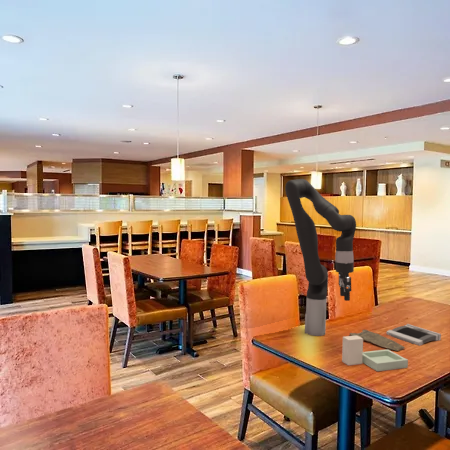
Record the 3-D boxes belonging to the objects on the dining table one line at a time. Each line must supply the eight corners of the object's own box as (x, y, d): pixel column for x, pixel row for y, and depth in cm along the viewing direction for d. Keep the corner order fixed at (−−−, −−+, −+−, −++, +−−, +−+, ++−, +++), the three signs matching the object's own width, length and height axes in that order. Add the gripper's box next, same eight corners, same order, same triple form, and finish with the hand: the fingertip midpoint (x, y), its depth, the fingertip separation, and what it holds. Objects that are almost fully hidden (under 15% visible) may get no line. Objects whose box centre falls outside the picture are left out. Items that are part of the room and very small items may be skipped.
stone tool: (347, 336, 189) (393, 354, 167) (348, 330, 188) (394, 347, 167) (363, 333, 194) (410, 349, 173) (363, 327, 194) (410, 343, 172)
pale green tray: (358, 359, 159) (358, 352, 159) (387, 356, 163) (387, 349, 163) (376, 371, 148) (377, 363, 148) (407, 367, 152) (407, 359, 152)
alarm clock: (441, 333, 184) (419, 336, 176) (440, 343, 184) (418, 346, 176) (408, 323, 199) (386, 325, 191) (407, 333, 199) (385, 335, 191)
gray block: (342, 361, 157) (342, 336, 157) (356, 359, 159) (356, 335, 159) (347, 365, 154) (348, 340, 153) (362, 363, 155) (363, 338, 155)
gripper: (332, 259, 179) (333, 294, 179) (338, 263, 165) (339, 302, 165) (349, 258, 178) (350, 294, 179) (357, 263, 164) (357, 302, 165)
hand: (344, 298), depth 172 cm, fingers open, 8 cm apart
